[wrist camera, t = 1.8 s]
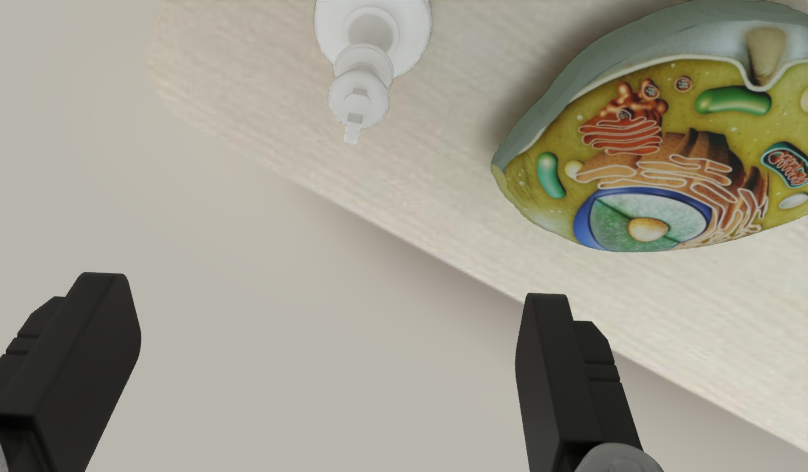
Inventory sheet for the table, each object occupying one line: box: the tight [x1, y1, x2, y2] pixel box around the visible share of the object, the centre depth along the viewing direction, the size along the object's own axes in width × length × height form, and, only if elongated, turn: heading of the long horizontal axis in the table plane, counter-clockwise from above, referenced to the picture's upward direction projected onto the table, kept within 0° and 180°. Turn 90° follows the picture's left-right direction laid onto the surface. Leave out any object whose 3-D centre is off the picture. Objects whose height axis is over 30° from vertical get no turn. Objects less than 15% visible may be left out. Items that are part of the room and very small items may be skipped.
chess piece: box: [314, 0, 432, 145], centre depth 24 cm, size 5×5×10 cm
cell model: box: [491, 0, 808, 252], centre depth 28 cm, size 11×8×15 cm
